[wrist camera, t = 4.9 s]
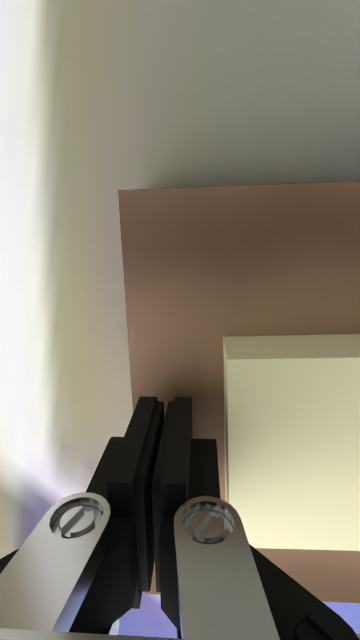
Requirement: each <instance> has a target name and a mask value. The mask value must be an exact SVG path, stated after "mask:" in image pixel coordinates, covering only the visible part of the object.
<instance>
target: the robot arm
mask: <svg viewBox="0 0 360 640" xmlns="http://www.w3.org/2000/svg"><path fill="white" fill-rule="evenodd" d="M154 562H155V575H156V592H160V594H161V609H162V610H163V612H164V613H165V614H166V615H167V617H168V618H169V619H170V620H171V622H172V623H173V624H174V626H175V627H176V629H177V639H174V638H158V637H141V636H124V635H117V633H118V629H119V618H120V617H121V616H122V615H124V614H125V613H126V612H127V611H128V610H130V609H131V608H135V609H139V608H140V602H141V596H142V591H143V592H150V589H151V583H152V576H153V569H154ZM0 640H360V635H359V634H356V633H355V632H354V630H353V629H352V628H351V627H350V626H349V625H348V624H347V623H346V622H345V621H344V620H343V619H342V618H341V617H340V616H339V615H338V614H336V613H335V612H334V611H333V610H331V609H330V608H329V607H328V606H326V605H325V604H324V603H323V602H321V601H320V600H319V599H318V598H316V597H315V596H314V595H313V594H311V593H310V592H309V591H308V590H306V589H305V588H304V587H303V586H301V585H300V584H299V583H298V582H296V581H295V580H294V579H293V578H291V577H290V576H289V575H288V574H286V573H285V572H284V571H283V570H281V569H280V568H279V567H278V566H276V565H275V564H274V563H273V562H271V561H270V560H269V559H268V558H266V557H265V556H264V555H263V554H261V553H260V552H259V551H258V550H256V549H255V548H254V547H253V546H251V545H250V544H249V542H248V539H247V536H246V533H245V530H244V527H243V524H242V521H241V518H240V516H239V514H238V512H237V510H236V509H235V508H234V507H233V506H232V505H231V504H229V503H227V502H226V501H224V500H222V499H221V496H220V482H219V468H218V454H217V440H216V439H194V438H193V429H192V397H175V400H174V401H168V406H167V411H166V415H165V420H164V402H163V401H158V398H157V397H149V396H140V397H139V400H138V402H137V405H136V408H135V410H134V413H133V415H132V418H131V420H130V423H129V426H128V428H127V431H126V433H125V436H124V437H111V438H110V440H109V442H108V444H107V446H106V449H105V451H104V453H103V455H102V457H101V460H100V462H99V464H98V466H97V468H96V471H95V473H94V475H93V477H92V480H91V482H90V484H89V486H88V488H87V491H86V493H77V494H73V495H70V496H68V497H65V498H63V499H61V500H60V501H58V502H57V503H55V504H54V505H53V506H52V507H51V508H50V509H49V510H48V511H47V513H46V514H45V515H44V517H43V518H42V519H41V521H40V522H39V523H38V525H37V526H36V527H35V529H34V530H33V531H32V533H31V534H30V535H29V537H28V538H27V539H26V541H25V542H24V543H23V545H22V546H21V547H20V548H19V549H17V550H16V551H14V552H12V553H10V554H9V555H7V556H5V557H3V558H2V559H0Z"/></svg>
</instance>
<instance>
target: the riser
mask: <svg viewBox="0 0 360 640" xmlns="http://www.w3.org/2000/svg"><path fill="white" fill-rule="evenodd" d="M118 193H119V208H120V223H121V238H122V253H123V268H124V283H125V298H126V313H127V328H128V343H129V358H130V372H131V387H132V402H133V413H134V410H135V408H136V405H137V402H138V400H139V397H140V396H149V397H157V398H158V401H163V402H164V420H165V415H166V411H167V406H168V401H174V400H175V397H192V429H193V438H194V439H216V440H217V454H218V468H219V482H220V496H221V499H222V500H224V501H226V500H225V433H224V357H223V337H232V336H280V335H328V334H360V181H350V182H323V183H297V184H271V185H244V186H218V187H191V188H165V189H138V190H118ZM255 549H256V550H258V551H259V552H260V553H261V554H263V555H264V556H265V557H266V558H268V559H269V560H270V561H271V562H273V563H274V564H275V565H276V566H278V567H279V568H280V569H281V570H283V571H284V572H285V573H286V574H288V575H289V576H290V577H291V578H293V579H294V580H295V581H296V582H298V583H299V584H300V585H301V586H303V587H304V588H305V589H306V590H308V591H309V592H310V593H311V594H313V595H314V596H315V597H316V598H318V599H319V600H320V601H324V602H348V603H360V551H344V550H307V549H270V548H255ZM145 594H160V592H156V575H155V562H154V569H153V576H152V583H151V589H150V592H145ZM160 595H161V594H160Z"/></svg>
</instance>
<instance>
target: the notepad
mask: <svg viewBox="0 0 360 640" xmlns="http://www.w3.org/2000/svg"><path fill="white" fill-rule="evenodd" d="M223 357H224V433H225V500H226V502H227V503H229V504H231V505H232V506H233V507H234V508H235V509H236V510H237V512H238V514H239V516H240V518H241V521H242V524H243V527H244V530H245V533H246V536H247V539H248V542H249V544H250V545H251V546H253V547H254V548H270V549H307V550H344V551H360V334H328V335H280V336H232V337H223Z"/></svg>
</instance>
